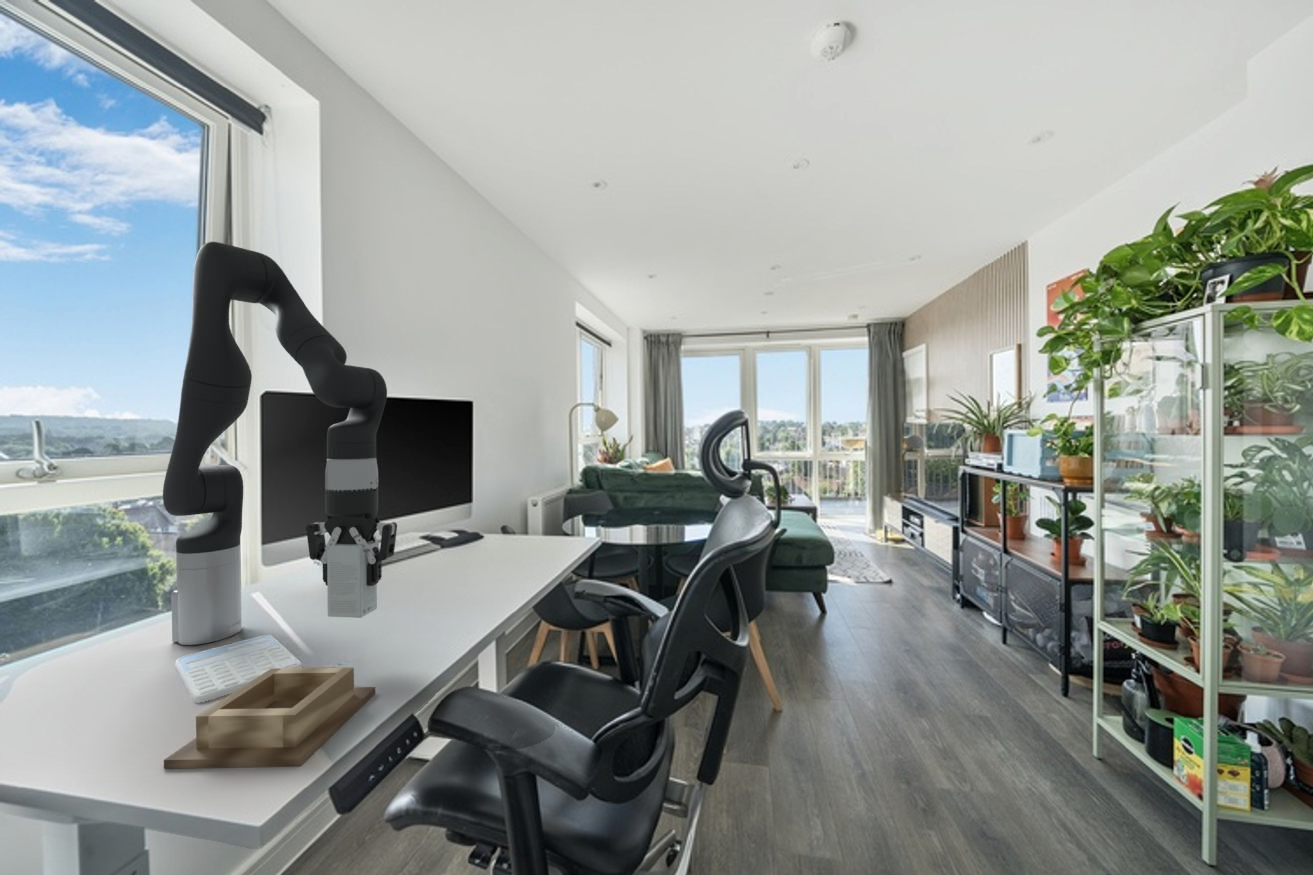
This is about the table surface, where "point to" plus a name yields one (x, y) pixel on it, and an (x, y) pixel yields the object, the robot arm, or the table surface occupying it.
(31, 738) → the table surface
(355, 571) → the skincare box
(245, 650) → the calculator
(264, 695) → the wooden box stand
